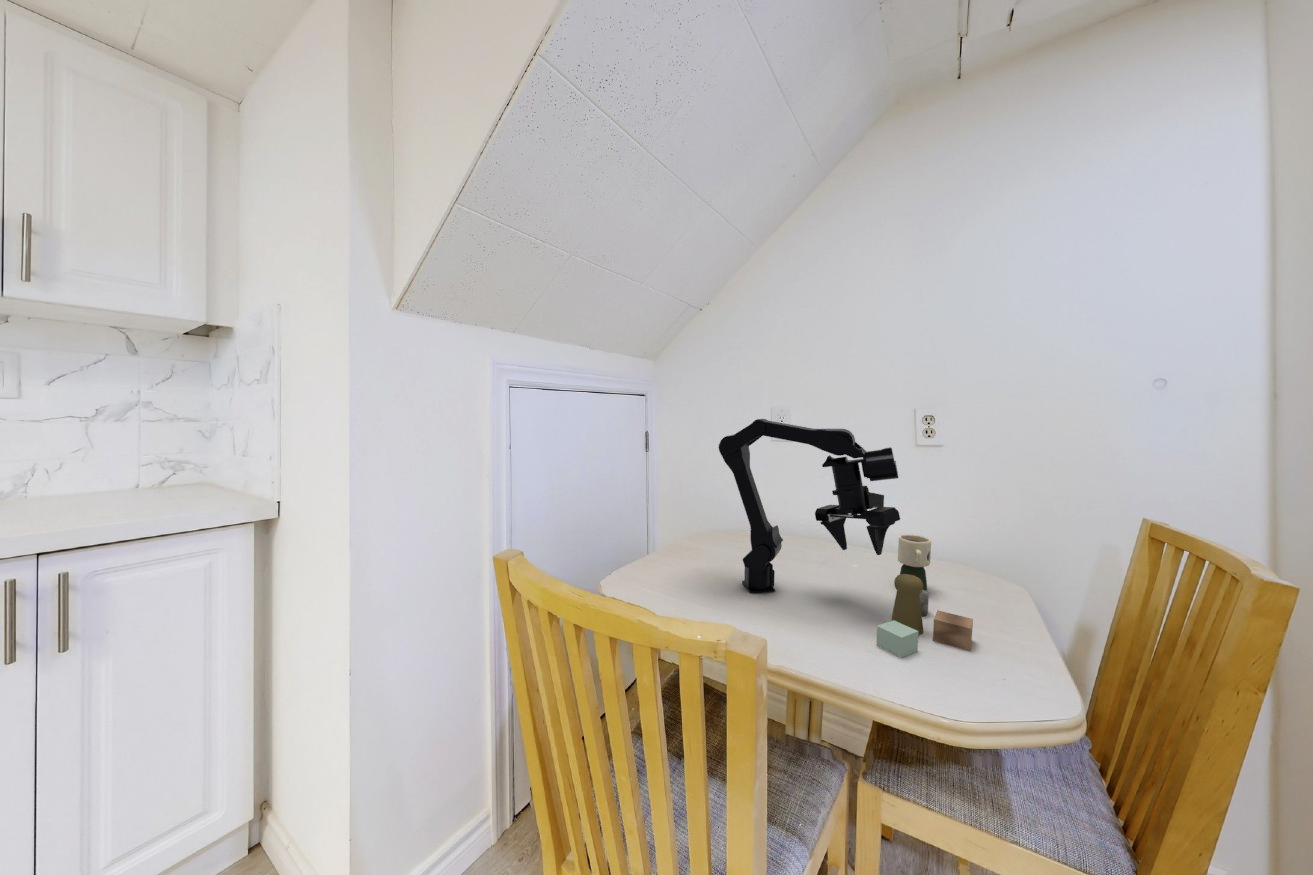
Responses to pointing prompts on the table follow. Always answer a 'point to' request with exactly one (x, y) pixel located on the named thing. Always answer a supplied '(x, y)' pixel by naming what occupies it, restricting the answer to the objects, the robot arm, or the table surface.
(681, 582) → the table surface
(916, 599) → the olive pawn
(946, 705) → the table surface
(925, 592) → the grey short cylinder
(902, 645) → the sage block
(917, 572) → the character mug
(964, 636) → the walnut block
